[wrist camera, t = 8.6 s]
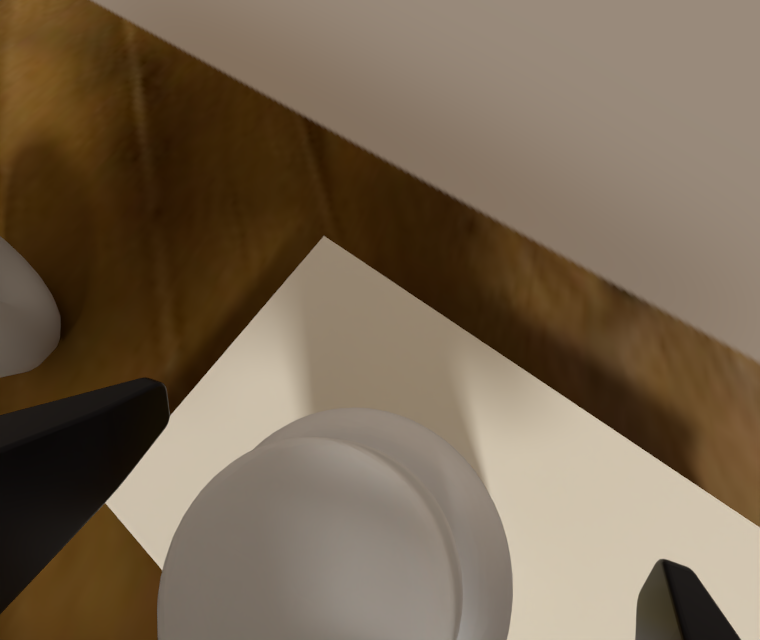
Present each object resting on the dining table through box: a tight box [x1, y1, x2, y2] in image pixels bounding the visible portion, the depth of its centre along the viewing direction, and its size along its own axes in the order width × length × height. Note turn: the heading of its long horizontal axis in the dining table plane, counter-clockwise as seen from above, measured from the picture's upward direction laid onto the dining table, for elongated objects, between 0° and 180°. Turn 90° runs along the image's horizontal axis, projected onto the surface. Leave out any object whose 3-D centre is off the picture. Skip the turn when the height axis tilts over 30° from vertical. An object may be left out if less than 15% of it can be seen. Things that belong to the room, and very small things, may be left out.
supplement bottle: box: [157, 408, 513, 640], centre depth 11 cm, size 6×6×10 cm
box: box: [105, 236, 760, 640], centre depth 18 cm, size 13×19×4 cm
